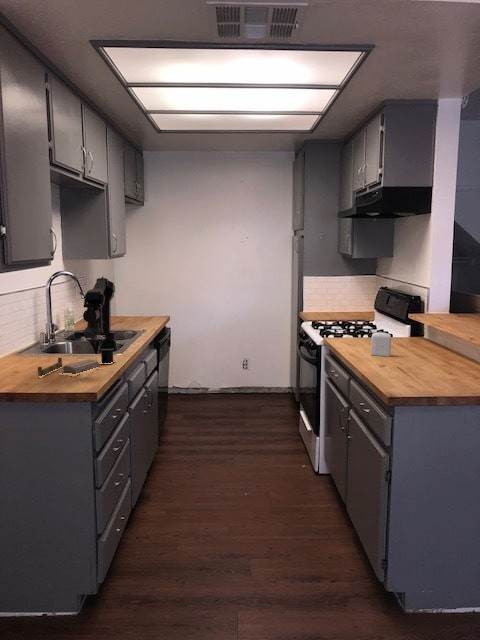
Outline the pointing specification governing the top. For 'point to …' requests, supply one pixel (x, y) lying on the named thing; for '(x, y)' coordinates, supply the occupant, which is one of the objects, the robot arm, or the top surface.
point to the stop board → (50, 368)
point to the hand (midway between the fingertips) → (96, 353)
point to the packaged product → (80, 366)
